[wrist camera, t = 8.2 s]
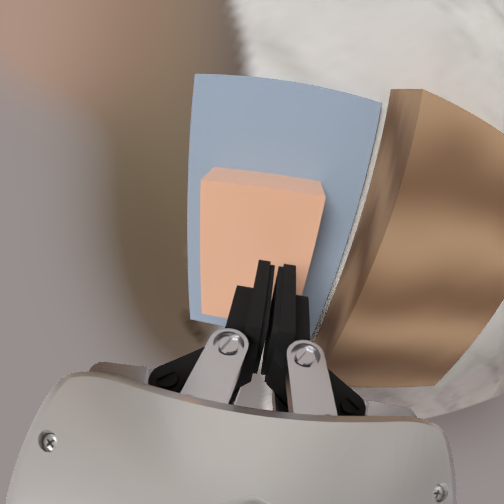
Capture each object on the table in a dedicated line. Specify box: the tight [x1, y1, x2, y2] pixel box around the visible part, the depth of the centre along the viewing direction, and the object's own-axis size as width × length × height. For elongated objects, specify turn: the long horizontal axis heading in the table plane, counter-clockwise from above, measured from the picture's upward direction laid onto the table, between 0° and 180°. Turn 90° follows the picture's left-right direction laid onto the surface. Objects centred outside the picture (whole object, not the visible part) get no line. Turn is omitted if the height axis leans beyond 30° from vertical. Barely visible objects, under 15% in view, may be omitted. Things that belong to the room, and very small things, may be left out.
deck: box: [314, 89, 504, 387], centre depth 15 cm, size 20×12×4 cm, turn 173°
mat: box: [187, 74, 382, 340], centre depth 17 cm, size 18×10×1 cm, turn 173°
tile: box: [200, 167, 326, 318], centre depth 16 cm, size 9×6×2 cm, turn 175°
